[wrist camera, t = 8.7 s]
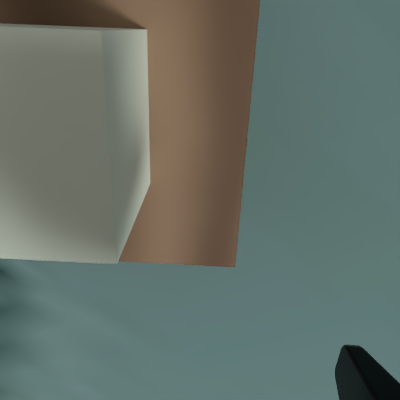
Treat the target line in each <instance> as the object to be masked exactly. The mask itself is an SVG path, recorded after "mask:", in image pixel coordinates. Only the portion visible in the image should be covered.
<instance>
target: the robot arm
mask: <svg viewBox="0 0 400 400" xmlns="http://www.w3.org/2000/svg"><path fill="white" fill-rule="evenodd" d="M335 379H336V384H337V390H338V395H339V400H400V383H399V382H398V381H397V380H396V379H395V378H394V377H392V376H391V375H390V374H389V373H388V372H387V371H386V370H385V369H384V368H383V367H382V366H381V365H380V364H379V363H378V362H377V361H376V360H375V359H374V358H373V357H372V356H371V355H370V354H369V353H368V352H367V351H365V350H364V349H363V348H362V347H360V346H356V345H344V346H343V347H342V348H341V351H340V354H339V358H338V361H337V364H336V368H335Z"/></svg>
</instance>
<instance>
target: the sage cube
mask: <svg viewBox="0 0 400 400" xmlns="http://www.w3.org/2000/svg"><path fill="white" fill-rule="evenodd" d="M149 186H150V142H149V96H148V50H147V29H127V28H102V27H77V26H52V25H27V24H3V23H0V258H6V259H25V260H45V261H64V262H84V263H103V264H117V263H118V261H119V258H120V256H121V253H122V251H123V249H124V246H125V244H126V241H127V239H128V236H129V234H130V232H131V229H132V227H133V224H134V222H135V219H136V217H137V215H138V212H139V210H140V207H141V205H142V203H143V200H144V198H145V195H146V193H147V190H148V188H149Z"/></svg>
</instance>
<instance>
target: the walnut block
mask: <svg viewBox="0 0 400 400" xmlns="http://www.w3.org/2000/svg"><path fill="white" fill-rule="evenodd" d="M259 6H260V0H0V23H3V24H27V25H52V26H77V27H102V28H127V29H147V50H148V96H149V142H150V186H149V188H148V190H147V193H146V195H145V198H144V200H143V203H142V205H141V207H140V210H139V212H138V215H137V217H136V219H135V222H134V224H133V227H132V229H131V232H130V234H129V236H128V239H127V241H126V244H125V246H124V249H123V251H122V253H121V256H120V258H119V261H127V262H146V263H165V264H184V265H203V266H222V267H235V263H236V252H237V241H238V231H239V220H240V209H241V198H242V188H243V177H244V166H245V156H246V145H247V134H248V124H249V113H250V102H251V92H252V81H253V70H254V59H255V49H256V38H257V27H258V17H259Z"/></svg>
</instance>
